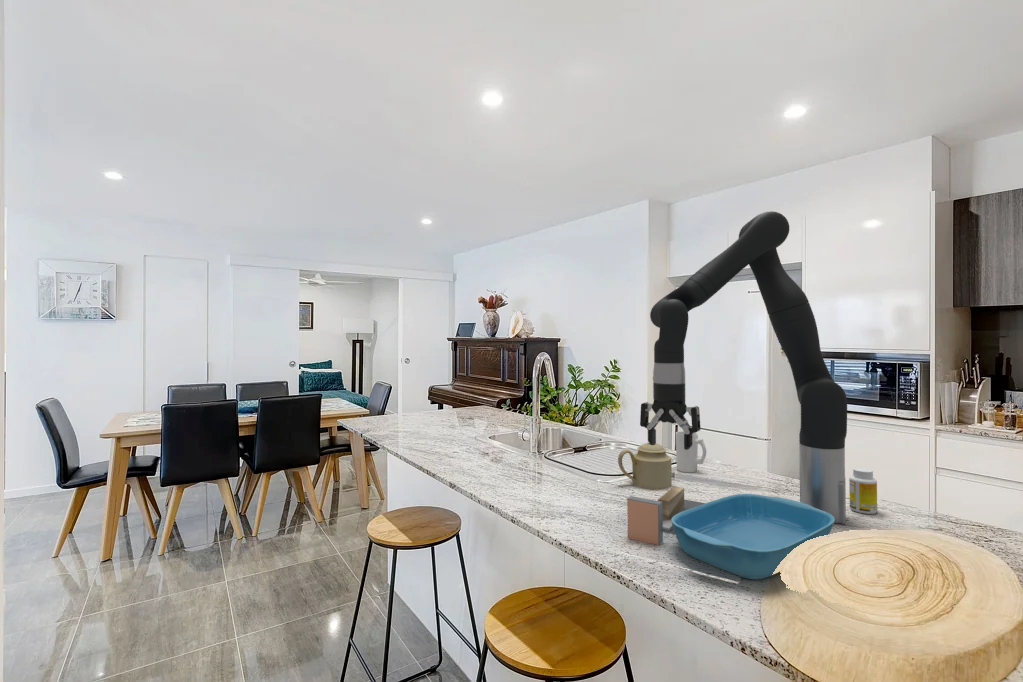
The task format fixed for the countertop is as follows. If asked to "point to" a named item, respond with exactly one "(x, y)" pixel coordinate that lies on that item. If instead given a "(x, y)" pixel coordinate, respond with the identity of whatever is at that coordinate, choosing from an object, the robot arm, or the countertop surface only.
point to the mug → (688, 453)
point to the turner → (671, 505)
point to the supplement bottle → (863, 491)
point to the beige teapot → (649, 467)
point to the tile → (645, 520)
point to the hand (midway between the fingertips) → (669, 446)
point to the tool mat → (687, 505)
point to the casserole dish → (748, 532)
